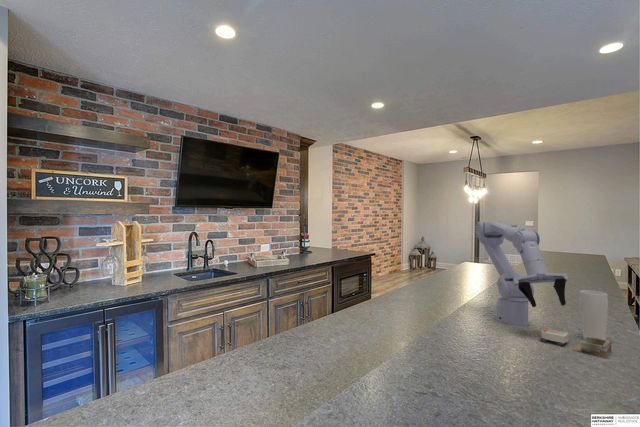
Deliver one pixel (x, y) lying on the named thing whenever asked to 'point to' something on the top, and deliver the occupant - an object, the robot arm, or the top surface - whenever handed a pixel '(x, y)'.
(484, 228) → the robot arm
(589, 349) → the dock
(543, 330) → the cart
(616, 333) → the top surface
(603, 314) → the drinking glass
